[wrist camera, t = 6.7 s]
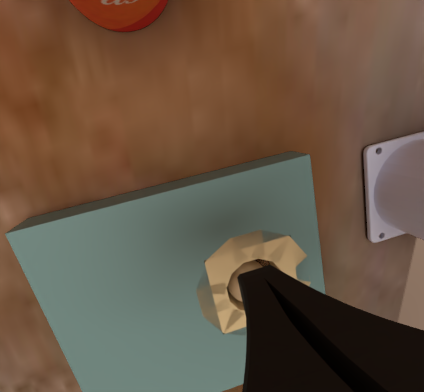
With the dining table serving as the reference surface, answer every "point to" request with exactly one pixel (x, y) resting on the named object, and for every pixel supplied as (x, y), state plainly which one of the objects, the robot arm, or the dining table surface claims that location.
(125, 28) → the coffee cup
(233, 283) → the maple ball
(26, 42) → the dining table surface
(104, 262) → the hole board
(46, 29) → the dining table surface
